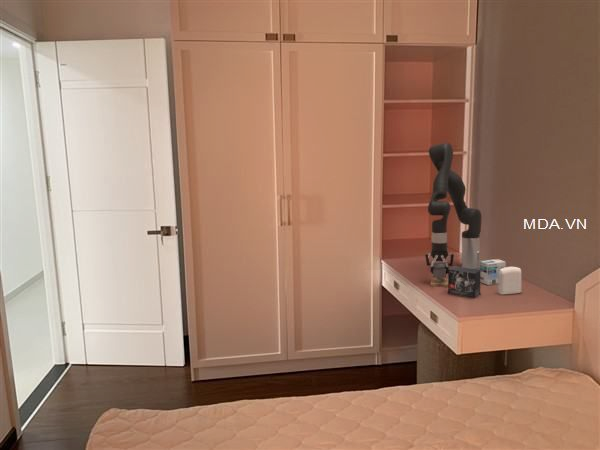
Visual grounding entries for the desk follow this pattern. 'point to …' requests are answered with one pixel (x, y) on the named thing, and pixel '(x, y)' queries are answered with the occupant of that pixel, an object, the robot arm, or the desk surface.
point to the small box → (464, 281)
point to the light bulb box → (491, 270)
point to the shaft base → (439, 282)
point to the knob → (439, 270)
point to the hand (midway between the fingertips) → (439, 273)
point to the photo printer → (509, 280)
